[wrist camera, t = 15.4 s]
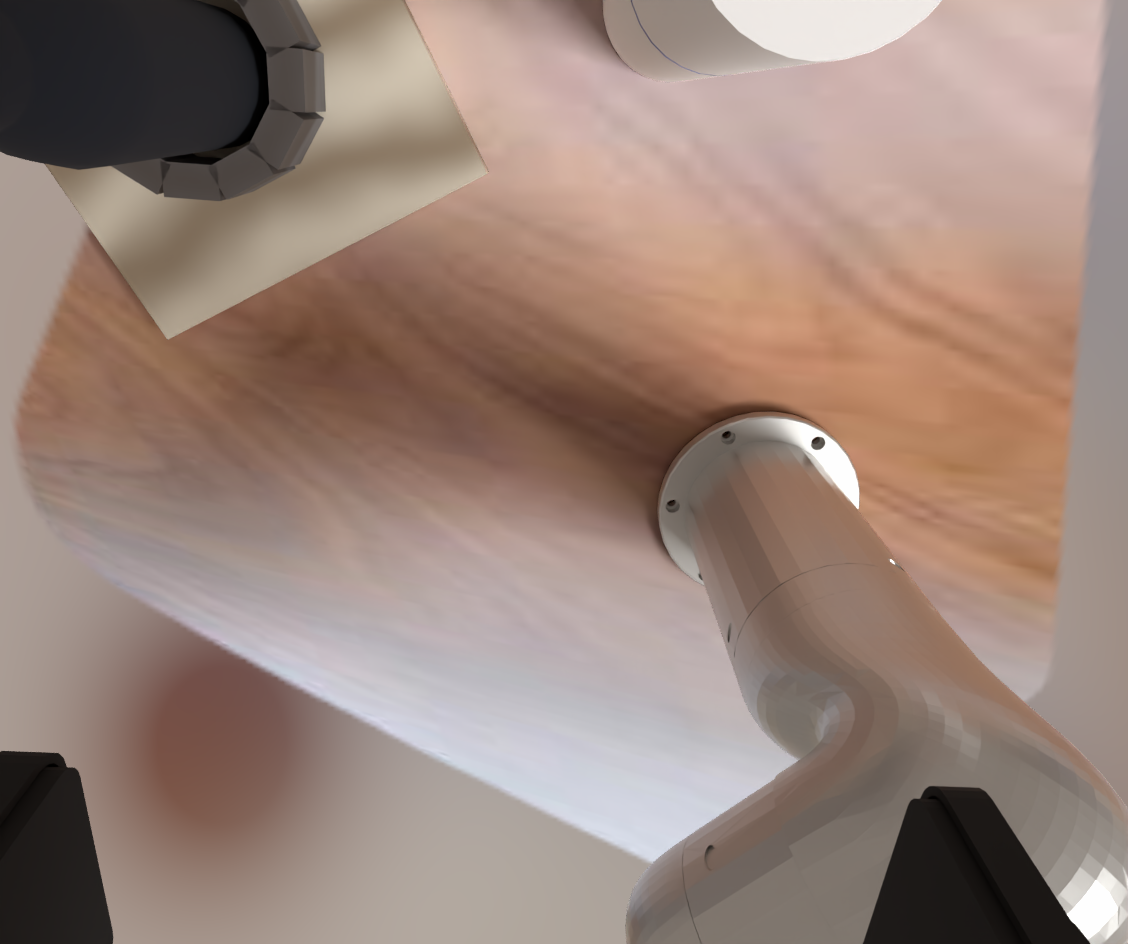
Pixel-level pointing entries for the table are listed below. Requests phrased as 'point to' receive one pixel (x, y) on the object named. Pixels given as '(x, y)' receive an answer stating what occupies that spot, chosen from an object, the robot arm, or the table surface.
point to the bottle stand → (286, 163)
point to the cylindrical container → (751, 33)
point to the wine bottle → (126, 80)
